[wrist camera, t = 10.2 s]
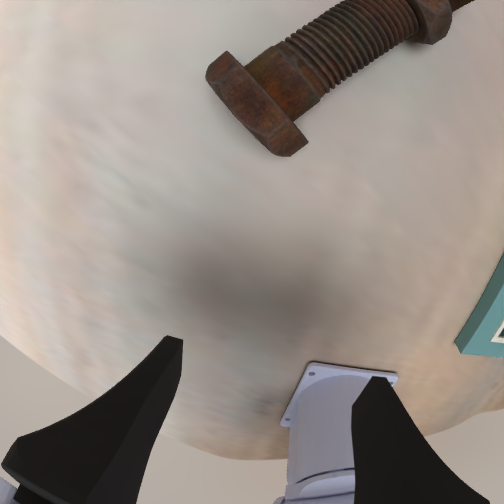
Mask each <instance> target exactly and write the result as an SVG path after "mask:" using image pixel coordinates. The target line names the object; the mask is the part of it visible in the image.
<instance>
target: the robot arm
mask: <svg viewBox="0 0 504 504" xmlns="http://www.w3.org/2000/svg"><path fill="white" fill-rule="evenodd" d="M182 352H183V340H182V339H179V338H175V337H171V336H168V335H167V336H165V337H164V338H163V339H162V340H161V341H160V343H159V344H158V345H157V346H156V347H155V348H154V349H153V350H152V351H151V352H150V354H149V355H148V356H147V357H146V358H145V359H144V360H143V361H142V362H141V363H140V364H138V365H137V366H136V367H135V368H134V369H133V370H132V371H131V372H130V373H129V374H128V375H127V376H126V377H124V378H123V379H122V380H121V381H120V382H118V383H117V384H116V385H115V386H114V387H112V388H111V389H110V390H109V391H107V392H106V393H105V394H103V395H102V396H101V397H99V398H98V399H96V400H95V401H93V402H92V403H90V404H89V405H87V406H86V407H84V408H82V409H81V410H79V411H77V412H76V413H74V414H72V415H70V416H68V417H67V418H64V419H62V420H60V421H58V422H56V423H54V424H52V425H50V426H48V427H45V428H43V429H40V430H38V431H35V432H32V433H30V434H27V435H24V436H21V437H18V438H17V440H16V441H15V442H14V443H13V445H12V446H11V447H10V449H9V451H8V453H7V454H6V456H5V458H4V460H3V462H2V463H1V466H2V468H3V469H4V470H5V471H6V472H7V473H8V474H9V475H11V476H12V477H13V478H14V479H15V480H16V481H17V482H19V483H20V486H19V487H18V489H17V488H16V487H14V486H13V485H11V484H9V482H7V481H6V480H4V479H3V478H1V477H0V504H136V502H137V498H138V493H139V490H140V486H141V483H142V479H143V476H144V472H145V469H146V466H147V462H148V459H149V456H150V452H151V450H152V447H153V445H154V442H155V440H156V437H157V435H158V433H159V431H160V429H161V426H162V424H163V422H164V420H165V417H166V415H167V413H168V411H169V408H170V406H171V404H172V401H173V399H174V397H175V393H176V390H177V387H178V384H179V380H180V377H181V371H182ZM397 381H398V375H397V374H396V373H389V372H380V371H371V370H363V369H356V368H348V367H341V366H335V365H328V364H322V363H316V362H313V363H310V364H309V365H308V366H307V368H306V370H305V372H304V375H303V377H302V379H301V381H300V383H299V385H298V387H297V389H296V391H295V393H294V395H293V397H292V399H291V401H290V403H289V405H288V407H287V409H286V411H285V413H284V415H283V417H282V419H281V421H280V425H281V426H283V427H289V428H290V433H289V449H288V464H287V465H288V466H287V481H288V484H289V485H287V486H286V492H285V496H283V497H279V498H277V499H276V500H275V501H274V503H273V504H490V502H489V500H487V499H486V498H484V497H483V496H482V495H480V494H479V493H477V492H476V491H474V490H473V489H472V488H470V487H469V486H468V485H467V484H466V483H464V482H463V481H462V480H461V479H460V478H459V477H458V476H457V475H456V474H455V473H454V472H453V471H451V469H450V468H449V467H448V466H447V465H446V464H445V463H444V462H443V461H442V460H441V459H440V457H439V456H438V455H437V454H436V453H435V451H434V450H433V449H432V448H431V446H430V445H429V444H428V442H427V441H426V440H425V438H424V437H423V435H422V434H421V432H420V431H419V430H418V428H417V427H416V425H415V423H414V422H413V420H412V419H411V417H410V416H409V414H408V412H407V411H406V409H405V407H404V406H403V404H402V402H401V401H400V399H399V397H398V396H397V394H396V392H395V391H394V389H393V386H394V385H395V383H396V382H397Z"/></svg>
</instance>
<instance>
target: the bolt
mask: <svg viewBox="0 0 504 504" xmlns="http://www.w3.org/2000/svg"><path fill="white" fill-rule="evenodd" d="M471 1H474V0H345V1H341V2H340V4H337V5H335V7H332V8H330V9H329V11H325V13H324V14H322V15H320V16H319V17H318V18H316V19H314V20H313V22H309V23H308V24H307V25H304V26H303V27H302V29H298V30H297V31H296V33H292V34H291V38H290V37H286V39H285V42H284V41H281V42H280V43H278V44H277V45H275V46H271V47H270V48H268V49H267V50H266V51H264V52H263V53H262V54H260V55H259V56H258V57H256V58H255V59H254V60H252V61H251V62H250V63H249V64H247V65H246V66H245V67H243V66H242V65H241V64H240V63H239V62H238V61H237V60H236V59H235V58H234V57H233V56H232V55H231V54H230V53H229V52H228V51H225V52H224V53H223V54H222V55H221V56H219V57H218V58H217V59H216V60H215V61H214V62H212V63H211V64H210V65H209V66H208V69H207V71H206V76H205V77H206V81H207V82H208V83H209V85H210V86H211V87H212V89H213V90H214V91H215V93H216V94H217V95H218V96H219V98H220V99H221V100H222V101H223V102H224V104H225V105H226V106H227V107H228V109H229V110H230V111H231V112H232V113H233V115H234V116H235V117H236V118H237V119H238V120H239V121H240V122H241V123H242V124H243V125H244V126H245V127H246V128H247V129H248V130H249V131H250V132H251V133H252V134H253V135H254V136H255V137H256V138H257V139H258V140H259V141H260V142H261V143H262V144H263V145H264V146H265V147H266V148H267V149H268V150H269V151H270V152H271V153H273V154H274V155H277V156H282V157H290V156H291V155H293V154H294V153H295V152H297V151H298V150H299V149H301V148H302V147H303V146H305V145H306V144H307V143H308V140H307V139H306V138H305V136H304V135H303V134H302V133H301V131H300V130H299V129H298V128H297V126H296V125H295V124H294V123H293V121H295V120H296V119H297V118H298V117H300V116H301V115H302V114H304V113H305V112H306V111H308V110H309V109H310V108H311V107H313V106H314V105H315V104H317V103H318V102H319V101H320V99H321V97H323V96H324V94H325V92H326V93H329V92H330V88H332V89H334V88H335V83H336V84H338V85H339V84H341V80H343V81H345V80H346V79H347V77H351V76H352V73H357V72H358V69H362V68H364V66H367V65H368V64H369V62H373V61H374V59H377V58H378V57H379V56H381V55H383V54H384V52H388V51H389V49H393V47H394V46H396V45H398V44H399V43H401V42H403V40H406V39H407V38H408V39H410V40H412V41H415V42H419V43H423V44H430V45H433V44H434V43H436V42H438V41H439V40H441V39H442V38H444V37H446V35H447V33H448V31H449V29H450V25H451V22H452V12H453V11H455V10H457V9H459V8H460V7H462V6H464V5H466V4H468V3H470V2H471ZM346 76H347V77H346Z"/></svg>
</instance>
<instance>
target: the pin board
mask: <svg viewBox="0 0 504 504" xmlns="http://www.w3.org/2000/svg"><path fill="white" fill-rule="evenodd" d="M455 343H456V345H457V347H458V349H459V351H460V353H461V354H468V355H479V356H491V357H504V254H503V256H502V258H501V260H500V262H499V264H498V266H497V268H496V270H495V272H494V274H493V276H492V278H491V280H490V282H489V284H488V286H487V288H486V290H485V292H484V293H483V295H482V297H481V299H480V301H479V302H478V304H477V306H476V308H475V309H474V311H473V313H472V314H471V316H470V318H469V319H468V321H467V323H466V324H465V326H464V328H463V329H462V331H461V332H460V334H459V335H458V337H457V338H456V340H455Z"/></svg>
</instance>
